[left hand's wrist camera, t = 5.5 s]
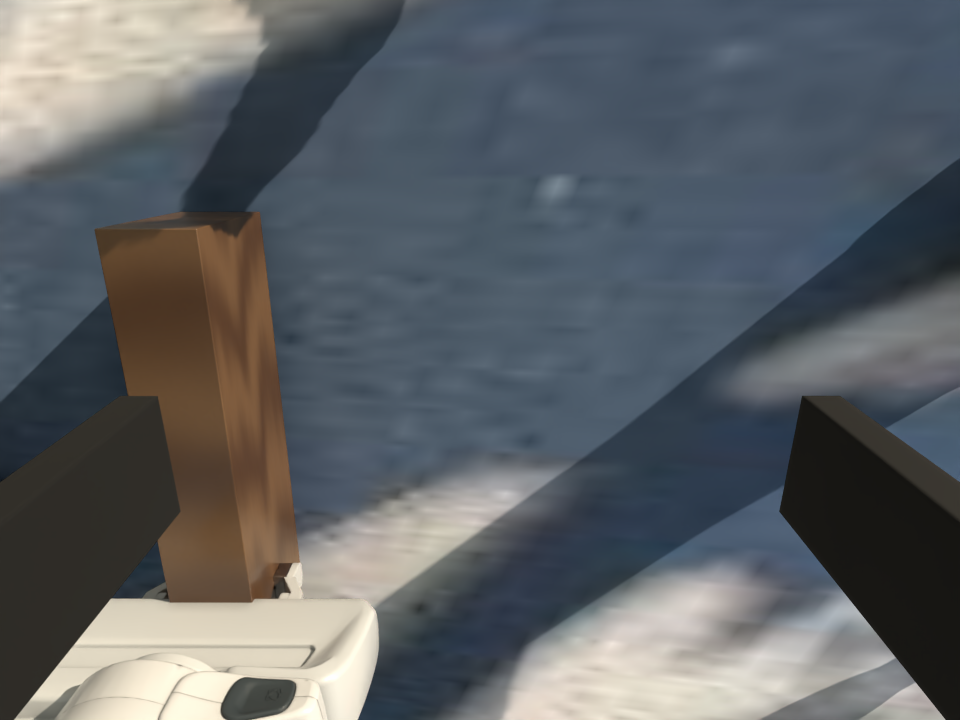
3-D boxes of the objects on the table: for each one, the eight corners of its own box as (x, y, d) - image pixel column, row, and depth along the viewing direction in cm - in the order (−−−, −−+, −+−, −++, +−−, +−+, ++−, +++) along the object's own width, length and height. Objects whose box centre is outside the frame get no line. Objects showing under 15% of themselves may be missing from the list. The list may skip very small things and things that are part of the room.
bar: (179, 211, 38) (93, 228, 30) (259, 211, 38) (196, 228, 30) (236, 577, 47) (183, 670, 39) (301, 577, 47) (262, 670, 39)
